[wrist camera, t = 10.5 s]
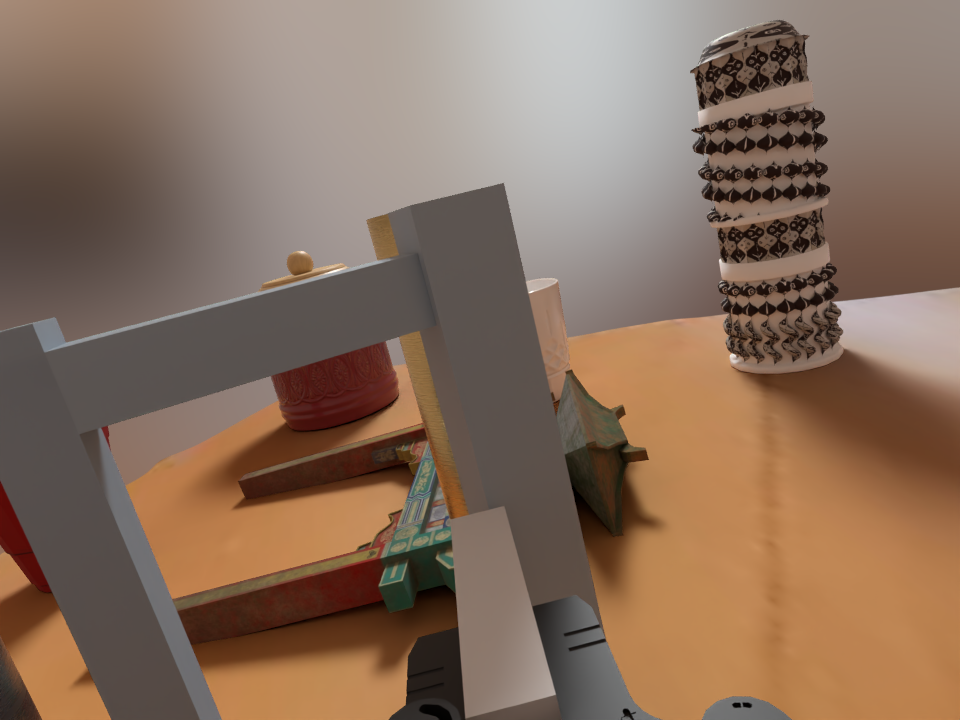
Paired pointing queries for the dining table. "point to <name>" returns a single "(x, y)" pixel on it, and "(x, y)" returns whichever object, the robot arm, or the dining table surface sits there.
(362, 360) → the canister
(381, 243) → the latch post
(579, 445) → the miniature gate
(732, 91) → the decorative candle
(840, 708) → the dining table surface
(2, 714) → the hinge post
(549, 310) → the white cup
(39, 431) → the grey rectangular frame
